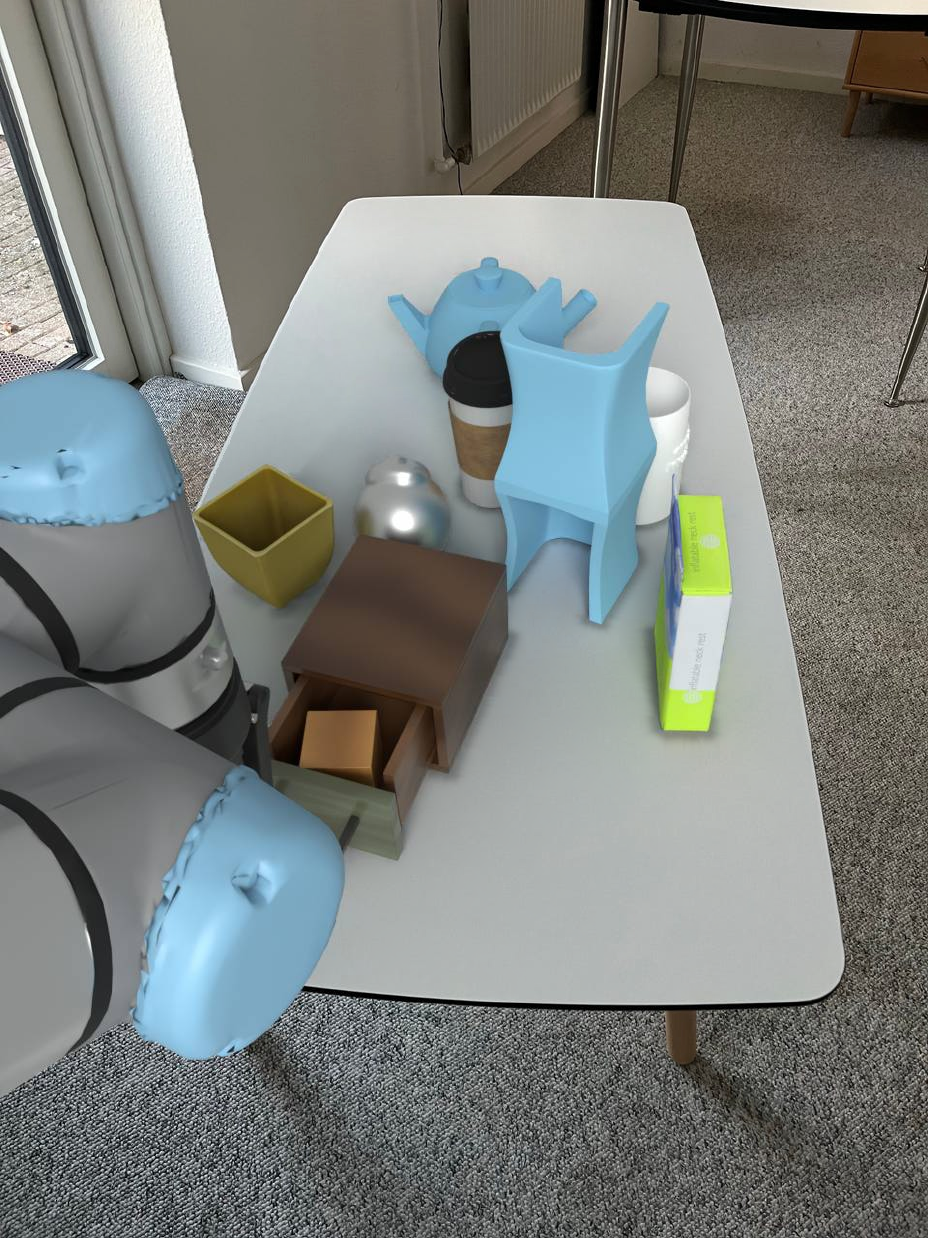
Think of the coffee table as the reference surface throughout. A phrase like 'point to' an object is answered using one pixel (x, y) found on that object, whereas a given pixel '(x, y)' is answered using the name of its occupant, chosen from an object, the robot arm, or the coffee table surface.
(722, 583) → the box
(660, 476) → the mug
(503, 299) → the teapot
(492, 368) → the coffee cup
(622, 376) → the blue doll chair
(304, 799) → the drawer
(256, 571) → the flower pot
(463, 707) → the cabinet
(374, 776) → the block
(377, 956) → the coffee table surface
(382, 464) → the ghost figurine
